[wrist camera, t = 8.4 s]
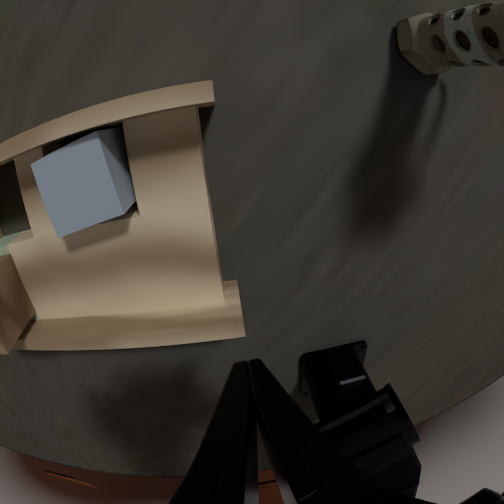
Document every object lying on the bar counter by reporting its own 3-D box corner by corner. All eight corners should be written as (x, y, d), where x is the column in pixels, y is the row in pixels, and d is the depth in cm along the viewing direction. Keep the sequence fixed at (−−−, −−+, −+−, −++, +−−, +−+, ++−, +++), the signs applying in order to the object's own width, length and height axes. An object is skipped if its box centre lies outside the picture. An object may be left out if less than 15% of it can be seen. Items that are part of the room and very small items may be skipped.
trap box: (238, 290, 22) (245, 336, 17) (12, 314, 20) (-11, 348, 16) (213, 90, 16) (212, 80, 11) (-38, 173, 14) (-76, 190, 10)
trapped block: (143, 191, 18) (124, 214, 14) (86, 212, 18) (58, 238, 14) (123, 126, 16) (96, 130, 12) (65, 152, 16) (30, 164, 12)
